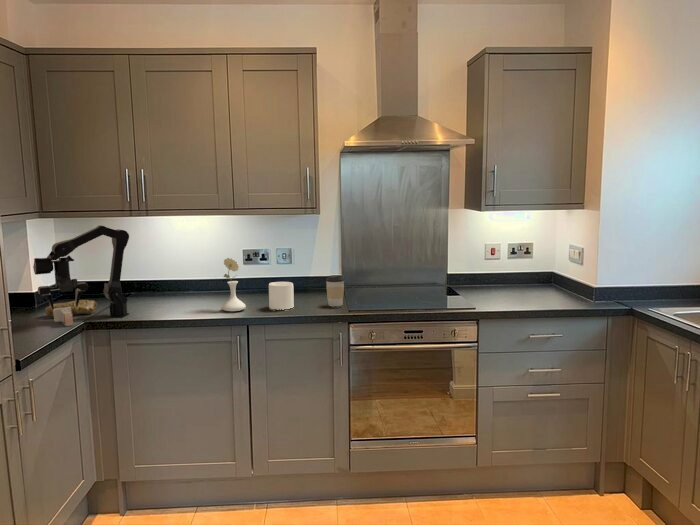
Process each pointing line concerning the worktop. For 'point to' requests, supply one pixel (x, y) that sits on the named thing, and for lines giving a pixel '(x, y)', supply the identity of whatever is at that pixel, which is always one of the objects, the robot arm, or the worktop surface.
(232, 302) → the flower in vase
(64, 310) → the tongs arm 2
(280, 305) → the cup
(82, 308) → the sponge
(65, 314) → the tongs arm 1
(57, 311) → the tongs pivot
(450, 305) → the worktop surface
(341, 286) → the coffee cup
